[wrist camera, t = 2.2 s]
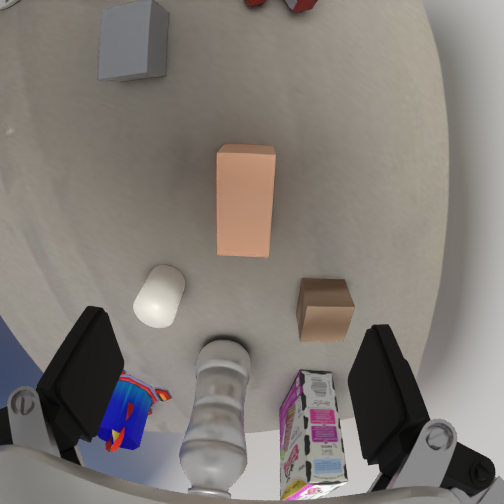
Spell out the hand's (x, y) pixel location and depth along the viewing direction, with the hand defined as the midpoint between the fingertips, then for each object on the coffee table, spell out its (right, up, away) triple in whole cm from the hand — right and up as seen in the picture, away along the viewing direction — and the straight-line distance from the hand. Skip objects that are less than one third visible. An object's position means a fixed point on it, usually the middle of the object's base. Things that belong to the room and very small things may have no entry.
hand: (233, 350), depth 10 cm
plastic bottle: (-3, -9, +25) cm, 27 cm away
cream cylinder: (-8, 0, +20) cm, 22 cm away
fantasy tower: (-19, -19, +31) cm, 41 cm away
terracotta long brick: (0, +9, +15) cm, 18 cm away
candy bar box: (+8, -17, +29) cm, 35 cm away
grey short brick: (-8, +21, +9) cm, 24 cm away
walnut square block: (+8, -1, +21) cm, 22 cm away
